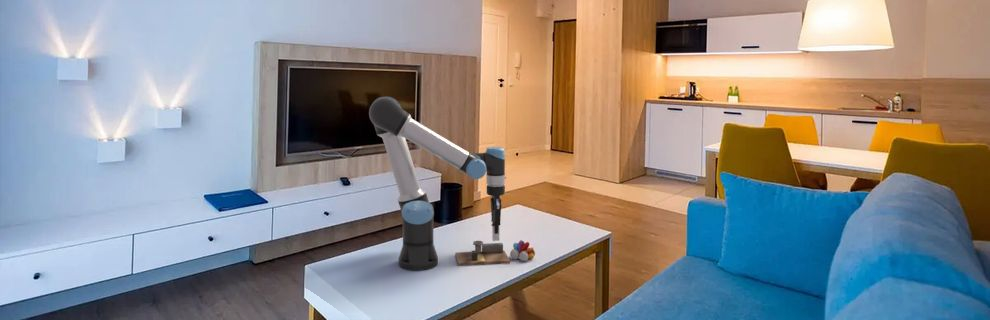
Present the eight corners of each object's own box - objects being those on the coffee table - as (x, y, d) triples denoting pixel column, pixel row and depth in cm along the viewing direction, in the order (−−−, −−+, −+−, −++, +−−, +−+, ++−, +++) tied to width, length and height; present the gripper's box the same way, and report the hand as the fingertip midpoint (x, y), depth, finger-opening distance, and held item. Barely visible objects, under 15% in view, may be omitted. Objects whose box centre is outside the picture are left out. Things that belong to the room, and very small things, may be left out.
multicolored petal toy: (528, 263, 206) (528, 245, 205) (506, 259, 211) (506, 241, 210) (538, 257, 214) (538, 240, 212) (517, 253, 219) (517, 236, 217)
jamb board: (458, 265, 203) (458, 252, 202) (455, 254, 216) (455, 241, 215) (509, 263, 206) (510, 249, 206) (503, 252, 219) (504, 239, 218)
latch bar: (482, 252, 214) (482, 245, 214) (481, 250, 217) (481, 243, 216) (502, 251, 216) (503, 244, 215) (501, 250, 218) (502, 242, 218)
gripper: (507, 187, 213) (507, 244, 217) (501, 181, 226) (502, 235, 229) (489, 188, 212) (489, 245, 216) (484, 182, 225) (484, 236, 228)
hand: (495, 240), depth 223 cm, fingers closed
